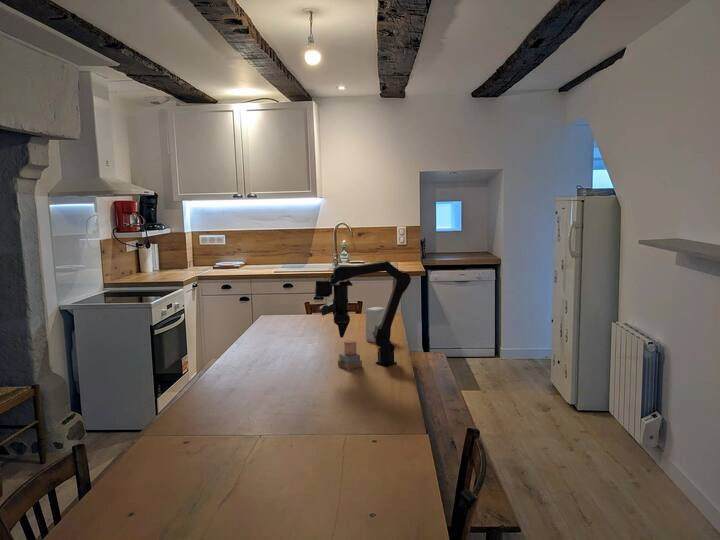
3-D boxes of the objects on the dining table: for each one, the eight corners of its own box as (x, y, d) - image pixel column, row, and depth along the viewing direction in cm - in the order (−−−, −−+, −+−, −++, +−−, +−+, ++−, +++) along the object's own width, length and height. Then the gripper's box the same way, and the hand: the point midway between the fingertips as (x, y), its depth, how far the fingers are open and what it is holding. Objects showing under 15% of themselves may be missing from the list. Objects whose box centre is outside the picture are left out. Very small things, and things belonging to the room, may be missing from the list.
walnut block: (362, 367, 220) (361, 360, 220) (348, 371, 216) (348, 364, 215) (350, 363, 225) (350, 356, 225) (337, 367, 221) (337, 360, 220)
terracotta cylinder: (359, 354, 220) (358, 342, 219) (349, 356, 217) (349, 344, 216) (351, 351, 224) (351, 339, 223) (341, 353, 220) (341, 341, 220)
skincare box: (376, 343, 254) (375, 310, 252) (364, 341, 258) (364, 309, 256) (386, 339, 261) (385, 307, 259) (375, 337, 265) (374, 306, 263)
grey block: (360, 360, 220) (359, 354, 219) (347, 363, 216) (347, 357, 216) (351, 357, 224) (351, 351, 224) (339, 359, 221) (339, 353, 220)
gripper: (320, 292, 225) (320, 329, 227) (320, 301, 207) (321, 341, 209) (347, 292, 226) (347, 328, 228) (349, 300, 208) (350, 340, 210)
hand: (341, 334), depth 219 cm, fingers open, 9 cm apart
